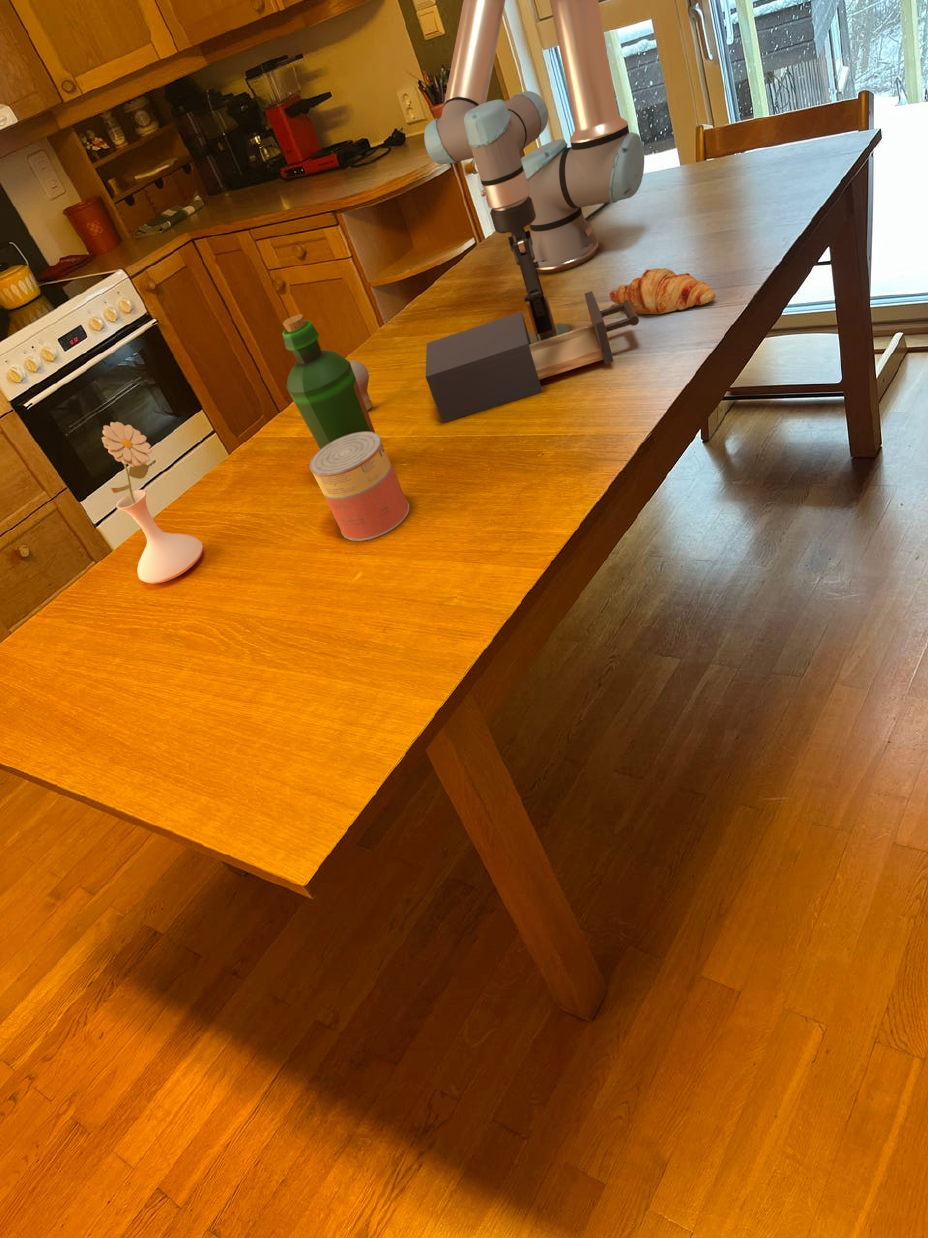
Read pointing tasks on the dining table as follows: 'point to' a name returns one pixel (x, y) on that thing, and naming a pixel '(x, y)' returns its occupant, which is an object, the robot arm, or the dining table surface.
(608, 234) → the dining table surface
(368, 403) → the light bulb
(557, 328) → the lid
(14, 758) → the dining table surface
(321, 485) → the canned food
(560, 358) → the drawer
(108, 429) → the flower in vase
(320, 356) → the bottle
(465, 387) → the cabinet
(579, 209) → the robot arm
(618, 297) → the croissant
